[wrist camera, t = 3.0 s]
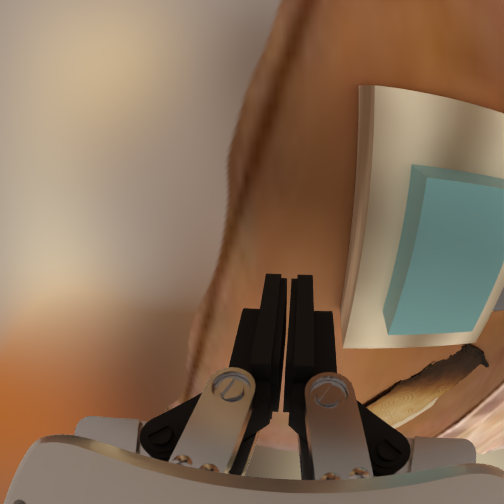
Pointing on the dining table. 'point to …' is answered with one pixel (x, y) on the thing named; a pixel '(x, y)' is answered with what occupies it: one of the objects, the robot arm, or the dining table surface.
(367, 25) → the dining table surface
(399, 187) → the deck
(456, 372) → the parchment
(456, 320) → the tile
